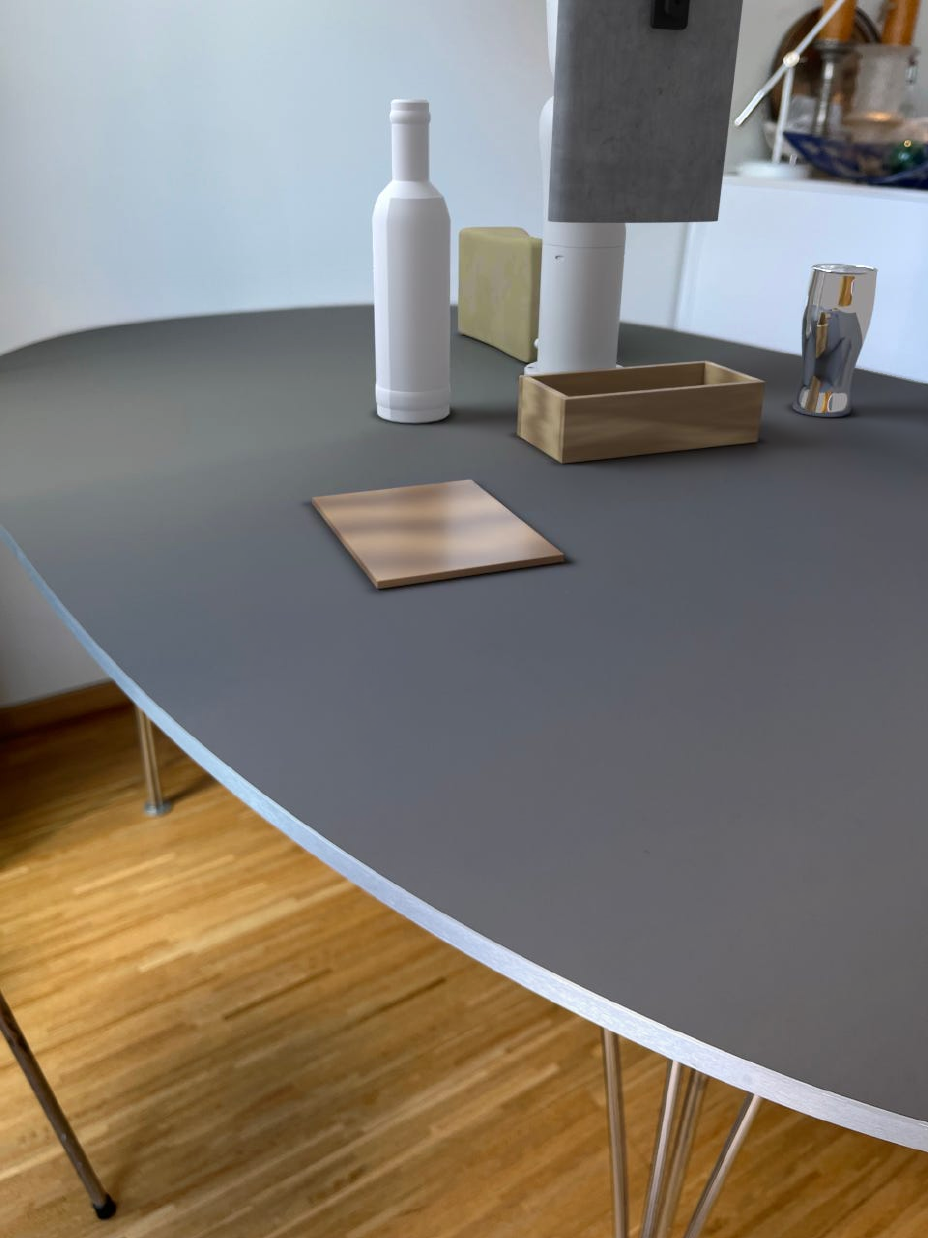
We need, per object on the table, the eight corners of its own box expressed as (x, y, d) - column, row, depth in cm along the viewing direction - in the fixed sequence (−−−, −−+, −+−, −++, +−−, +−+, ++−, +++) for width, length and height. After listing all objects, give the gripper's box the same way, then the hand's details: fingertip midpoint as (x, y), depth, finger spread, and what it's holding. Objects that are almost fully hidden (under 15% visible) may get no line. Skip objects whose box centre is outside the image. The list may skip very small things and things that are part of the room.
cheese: (569, 362, 134) (576, 240, 127) (497, 365, 132) (500, 241, 125) (520, 331, 153) (523, 223, 146) (456, 333, 151) (457, 224, 144)
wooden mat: (312, 504, 84) (311, 497, 84) (470, 485, 89) (470, 478, 89) (377, 589, 69) (377, 581, 69) (564, 562, 74) (564, 554, 74)
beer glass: (858, 420, 110) (885, 273, 103) (790, 416, 111) (812, 270, 105) (849, 404, 116) (874, 264, 109) (785, 400, 117) (806, 262, 111)
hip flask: (707, 218, 94) (736, -39, 86) (728, 222, 91) (760, -46, 82) (542, 219, 91) (554, -50, 82) (558, 223, 87) (572, -57, 79)
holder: (516, 435, 103) (518, 375, 101) (700, 416, 111) (707, 360, 108) (561, 464, 95) (565, 399, 92) (757, 441, 102) (766, 381, 100)
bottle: (462, 410, 112) (466, 100, 99) (430, 427, 105) (429, 98, 92) (397, 401, 115) (392, 99, 102) (362, 418, 108) (351, 98, 95)
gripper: (575, -227, 82) (563, 35, 90) (695, -297, 68) (668, 21, 76) (656, -215, 85) (637, 39, 93) (787, -280, 71) (752, 25, 79)
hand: (651, 28), depth 85 cm, fingers closed on hip flask, 4 cm apart
